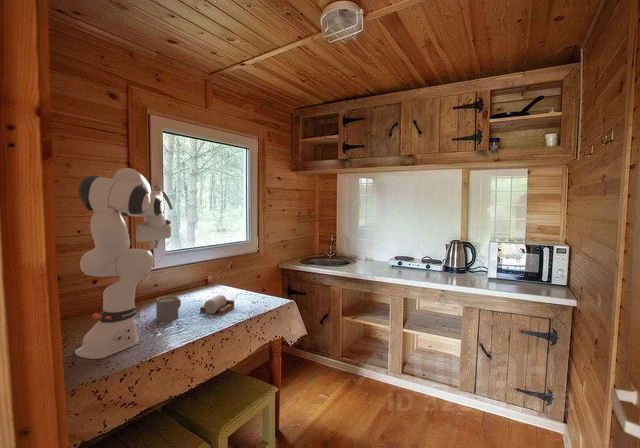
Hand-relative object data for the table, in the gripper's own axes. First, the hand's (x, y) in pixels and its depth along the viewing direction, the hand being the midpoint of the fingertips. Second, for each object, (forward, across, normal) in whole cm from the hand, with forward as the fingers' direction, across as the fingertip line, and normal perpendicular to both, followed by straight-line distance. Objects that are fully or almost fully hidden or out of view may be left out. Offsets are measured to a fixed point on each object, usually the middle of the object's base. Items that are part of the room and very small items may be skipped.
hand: (154, 248), depth 161 cm
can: (+30, +8, -27) cm, 42 cm away
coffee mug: (+34, -1, -11) cm, 36 cm away
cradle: (+34, +16, -27) cm, 46 cm away
